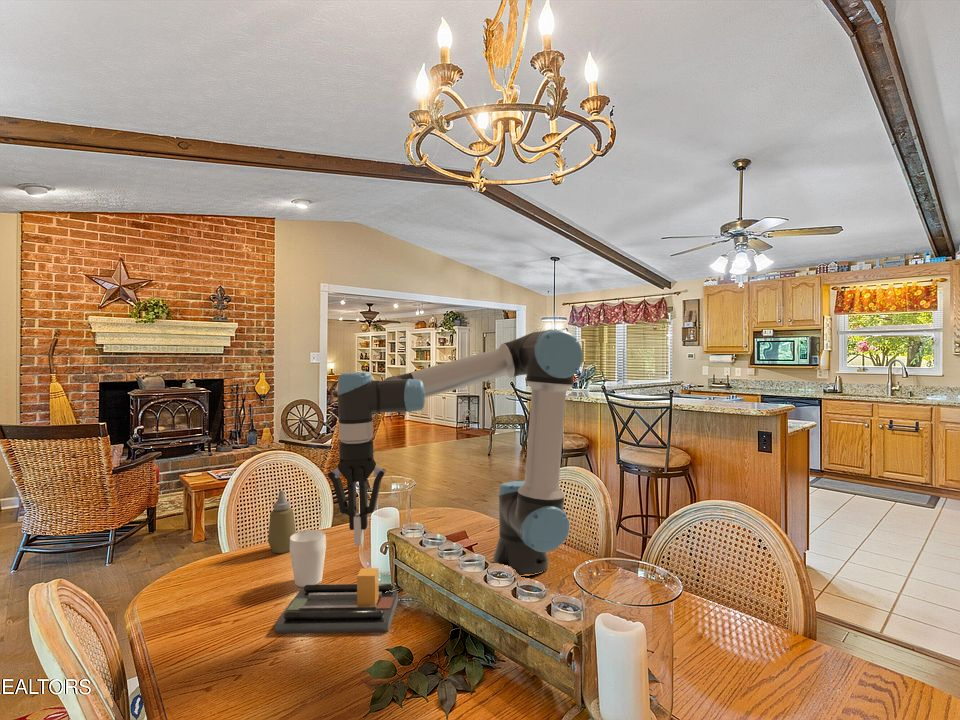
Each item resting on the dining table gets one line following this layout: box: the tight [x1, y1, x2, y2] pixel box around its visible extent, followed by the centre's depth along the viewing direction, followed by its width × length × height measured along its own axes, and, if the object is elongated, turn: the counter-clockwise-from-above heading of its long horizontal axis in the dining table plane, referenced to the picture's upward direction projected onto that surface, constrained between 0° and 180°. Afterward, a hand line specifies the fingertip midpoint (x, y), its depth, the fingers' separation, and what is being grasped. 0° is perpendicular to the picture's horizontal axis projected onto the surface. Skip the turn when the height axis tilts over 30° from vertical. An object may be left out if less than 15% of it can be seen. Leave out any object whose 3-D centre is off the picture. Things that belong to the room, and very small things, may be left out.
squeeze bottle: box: [267, 490, 297, 554], centre depth 150 cm, size 8×8×18 cm
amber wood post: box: [356, 567, 380, 605], centre depth 113 cm, size 4×4×7 cm
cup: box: [289, 529, 327, 588], centre depth 129 cm, size 9×9×12 cm
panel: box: [274, 583, 399, 634], centre depth 113 cm, size 24×16×4 cm, turn 90°
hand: (359, 543), depth 113 cm, fingers closed
